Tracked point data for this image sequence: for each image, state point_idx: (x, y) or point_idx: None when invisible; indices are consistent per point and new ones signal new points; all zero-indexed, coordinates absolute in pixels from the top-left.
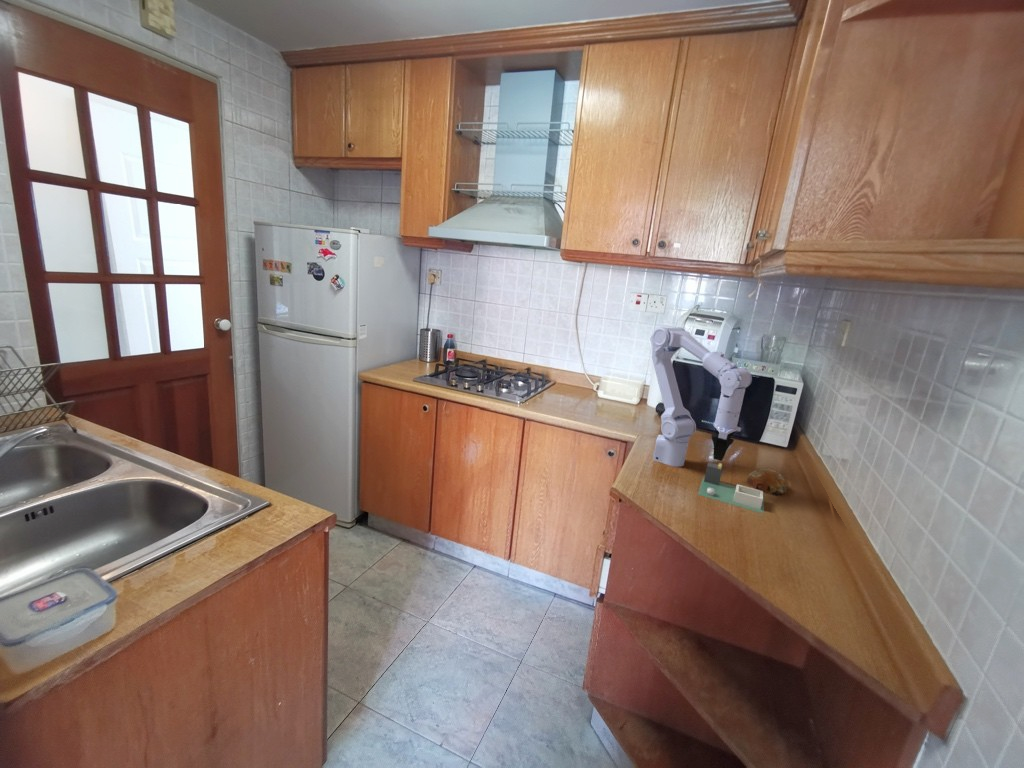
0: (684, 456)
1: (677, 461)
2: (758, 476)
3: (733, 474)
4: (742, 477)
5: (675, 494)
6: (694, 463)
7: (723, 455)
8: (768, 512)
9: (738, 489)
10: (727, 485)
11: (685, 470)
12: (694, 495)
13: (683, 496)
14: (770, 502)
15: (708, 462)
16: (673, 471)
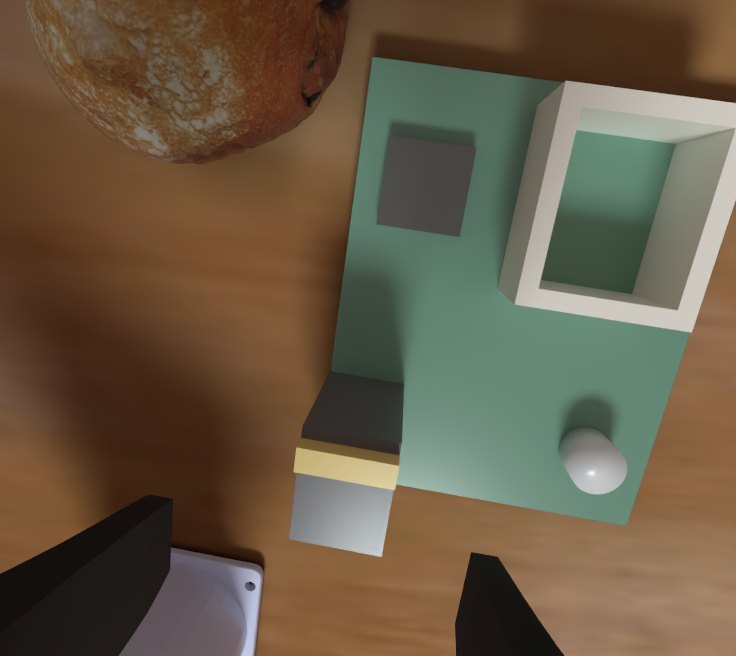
0: (164, 635)
1: (222, 642)
2: (229, 80)
3: (74, 244)
4: (87, 182)
5: (624, 617)
6: (63, 483)
7: (529, 616)
8: (641, 59)
9: (629, 303)
10: (367, 323)
11: (221, 543)
12: (586, 520)
13: (631, 579)
14: (446, 17)
15: (291, 537)
16: (283, 607)
